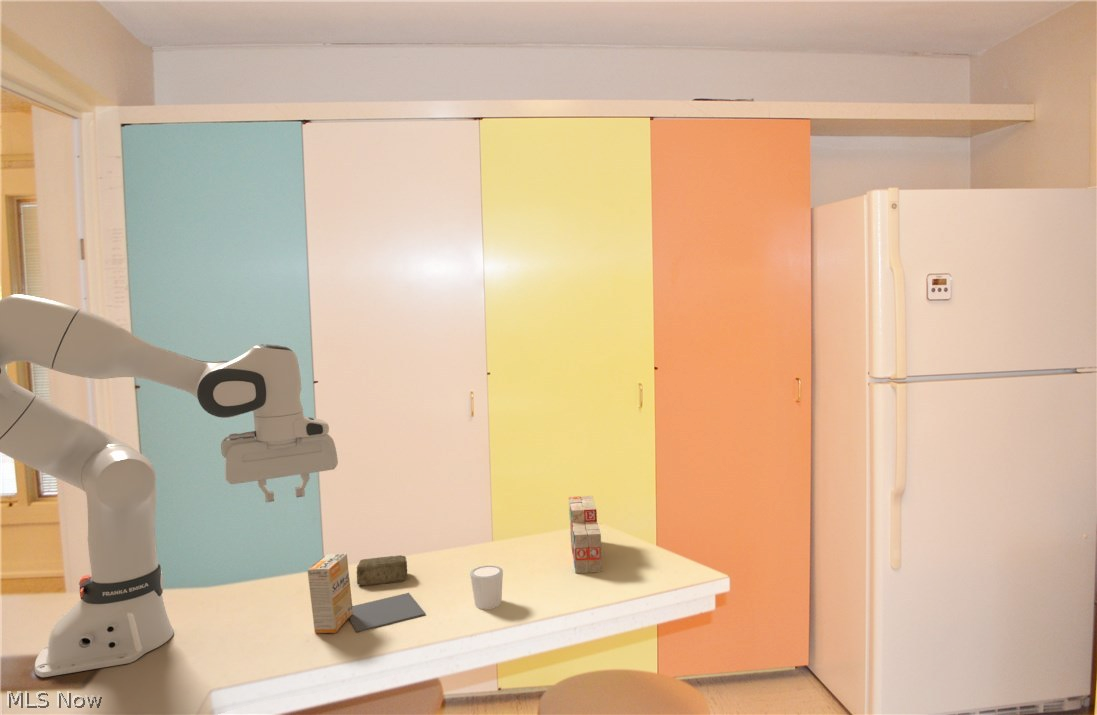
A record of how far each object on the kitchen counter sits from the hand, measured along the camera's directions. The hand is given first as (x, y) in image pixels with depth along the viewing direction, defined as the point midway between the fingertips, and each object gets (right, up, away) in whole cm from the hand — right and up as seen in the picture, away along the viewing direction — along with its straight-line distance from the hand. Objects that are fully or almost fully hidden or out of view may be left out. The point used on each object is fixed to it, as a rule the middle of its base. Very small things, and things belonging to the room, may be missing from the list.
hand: (285, 498), depth 135 cm
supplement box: (+8, -26, +6) cm, 28 cm away
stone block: (+12, -25, +28) cm, 39 cm away
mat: (+17, -26, +10) cm, 32 cm away
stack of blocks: (+60, -22, +37) cm, 74 cm away
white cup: (+38, -25, +12) cm, 47 cm away
